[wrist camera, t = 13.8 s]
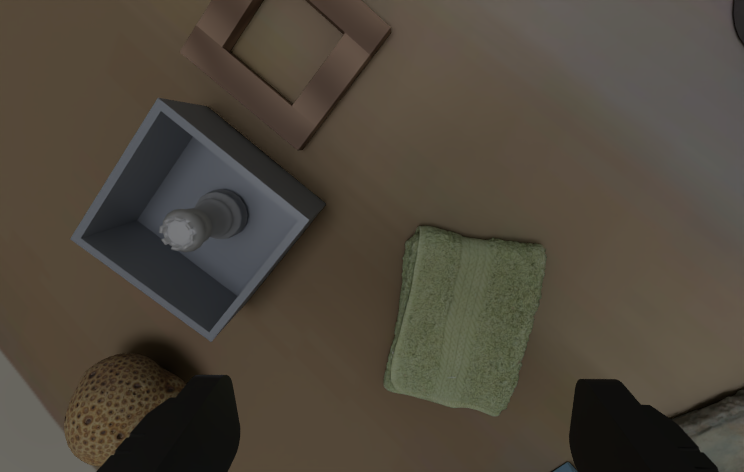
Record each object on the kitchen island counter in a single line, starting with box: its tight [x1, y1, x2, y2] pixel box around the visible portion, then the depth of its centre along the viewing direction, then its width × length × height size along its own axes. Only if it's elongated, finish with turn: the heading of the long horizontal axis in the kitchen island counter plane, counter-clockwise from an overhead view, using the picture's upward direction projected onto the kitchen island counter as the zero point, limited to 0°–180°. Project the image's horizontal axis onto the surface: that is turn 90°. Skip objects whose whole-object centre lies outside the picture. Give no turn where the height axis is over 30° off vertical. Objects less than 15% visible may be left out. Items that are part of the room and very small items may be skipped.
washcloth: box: [384, 225, 547, 416], centre depth 35 cm, size 13×18×3 cm
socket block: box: [180, 0, 391, 150], centre depth 30 cm, size 12×12×2 cm
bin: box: [71, 98, 326, 342], centre depth 31 cm, size 13×13×7 cm
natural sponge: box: [64, 354, 186, 466], centre depth 35 cm, size 9×9×10 cm
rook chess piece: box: [159, 189, 247, 252], centre depth 30 cm, size 4×4×8 cm
